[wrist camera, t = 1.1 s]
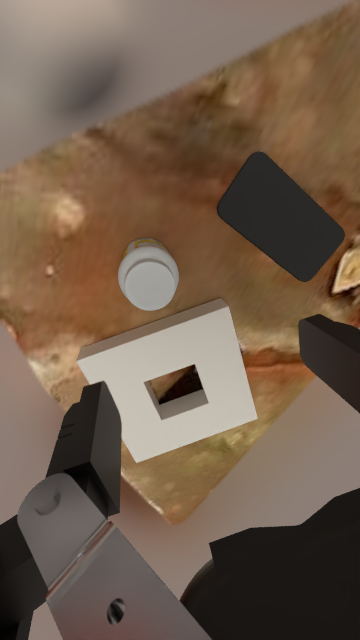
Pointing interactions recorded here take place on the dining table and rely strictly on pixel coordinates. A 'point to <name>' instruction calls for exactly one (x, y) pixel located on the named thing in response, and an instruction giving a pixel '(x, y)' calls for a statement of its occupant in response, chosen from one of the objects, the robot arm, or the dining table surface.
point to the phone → (280, 218)
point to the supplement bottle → (148, 274)
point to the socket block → (165, 357)
